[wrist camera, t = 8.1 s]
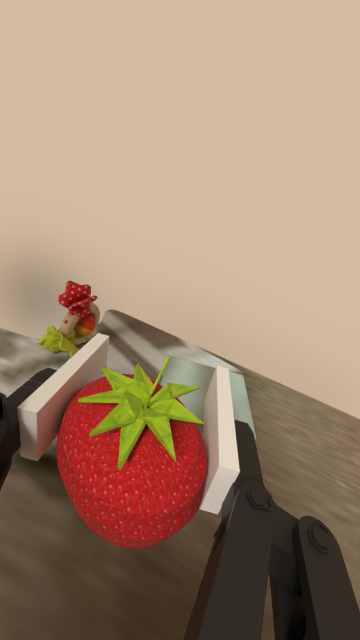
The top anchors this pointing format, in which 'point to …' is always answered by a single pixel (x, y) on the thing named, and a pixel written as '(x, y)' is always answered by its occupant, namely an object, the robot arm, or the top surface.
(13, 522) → the top surface
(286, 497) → the top surface
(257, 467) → the robot arm
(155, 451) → the strawberry
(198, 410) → the base brick
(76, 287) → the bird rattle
